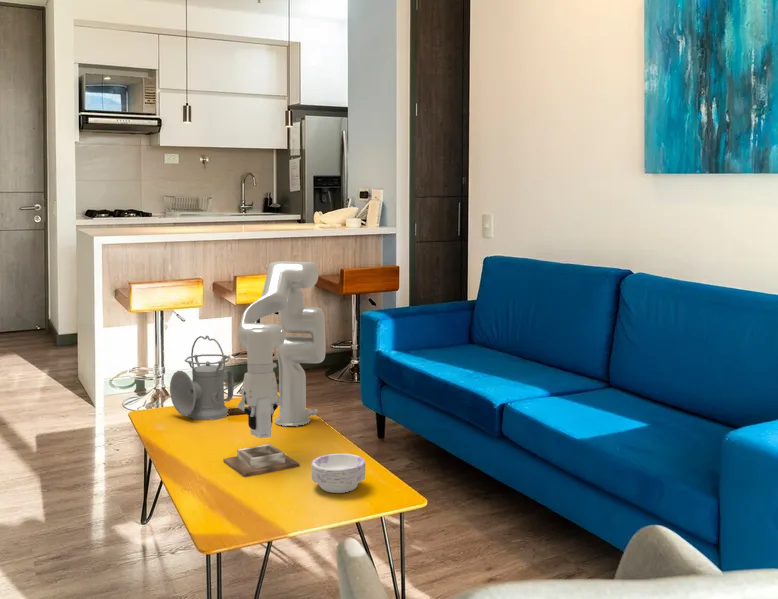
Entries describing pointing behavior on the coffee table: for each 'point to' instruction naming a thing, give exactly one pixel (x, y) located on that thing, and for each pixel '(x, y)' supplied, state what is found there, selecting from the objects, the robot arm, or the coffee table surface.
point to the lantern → (202, 388)
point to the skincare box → (262, 418)
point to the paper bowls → (338, 472)
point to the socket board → (260, 460)
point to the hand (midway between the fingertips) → (260, 426)
